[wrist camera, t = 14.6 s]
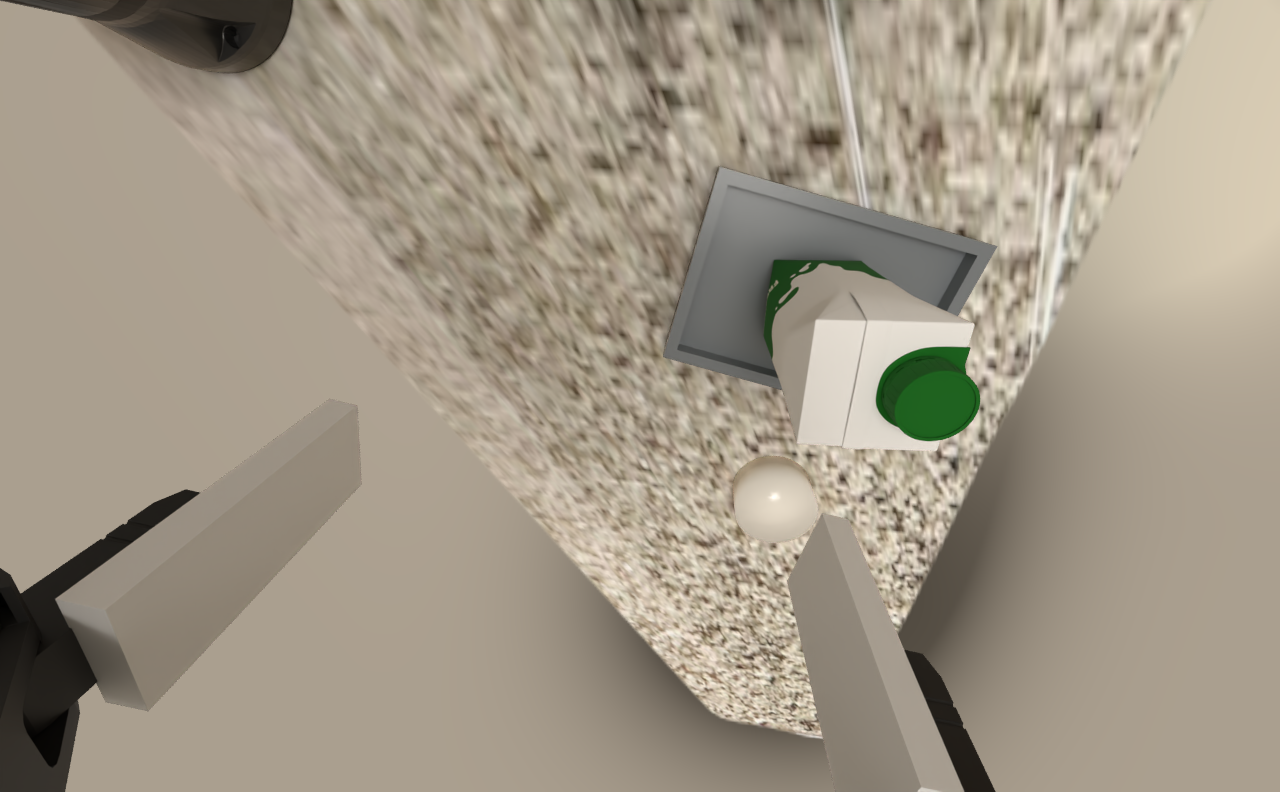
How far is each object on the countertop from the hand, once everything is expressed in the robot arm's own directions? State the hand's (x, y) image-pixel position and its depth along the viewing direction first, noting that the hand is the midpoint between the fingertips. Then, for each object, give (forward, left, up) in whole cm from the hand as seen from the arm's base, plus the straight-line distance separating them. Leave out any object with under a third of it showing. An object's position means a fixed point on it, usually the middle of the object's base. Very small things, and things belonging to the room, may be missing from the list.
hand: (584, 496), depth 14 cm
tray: (+13, +1, -33) cm, 36 cm away
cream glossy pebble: (+17, -19, -33) cm, 42 cm away
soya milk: (+13, +1, -32) cm, 35 cm away
